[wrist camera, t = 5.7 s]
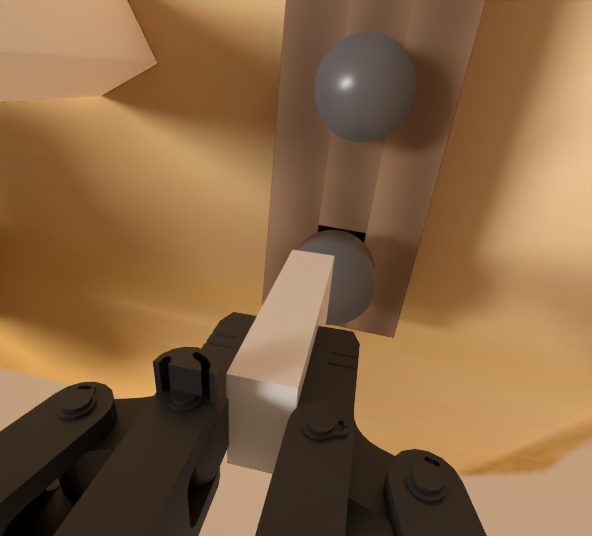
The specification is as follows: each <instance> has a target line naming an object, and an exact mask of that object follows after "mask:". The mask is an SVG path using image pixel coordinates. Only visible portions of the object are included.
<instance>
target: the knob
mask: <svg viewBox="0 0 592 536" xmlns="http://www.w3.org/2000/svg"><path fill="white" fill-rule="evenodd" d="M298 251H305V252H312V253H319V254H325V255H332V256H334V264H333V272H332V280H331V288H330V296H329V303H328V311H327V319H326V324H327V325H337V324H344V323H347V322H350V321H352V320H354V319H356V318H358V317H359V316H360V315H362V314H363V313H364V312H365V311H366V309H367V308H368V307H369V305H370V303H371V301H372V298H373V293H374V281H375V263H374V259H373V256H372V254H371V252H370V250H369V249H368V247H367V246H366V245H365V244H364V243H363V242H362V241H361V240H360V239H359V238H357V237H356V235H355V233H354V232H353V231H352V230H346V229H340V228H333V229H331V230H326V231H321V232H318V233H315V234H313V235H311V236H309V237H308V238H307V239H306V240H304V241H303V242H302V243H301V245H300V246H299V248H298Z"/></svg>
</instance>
